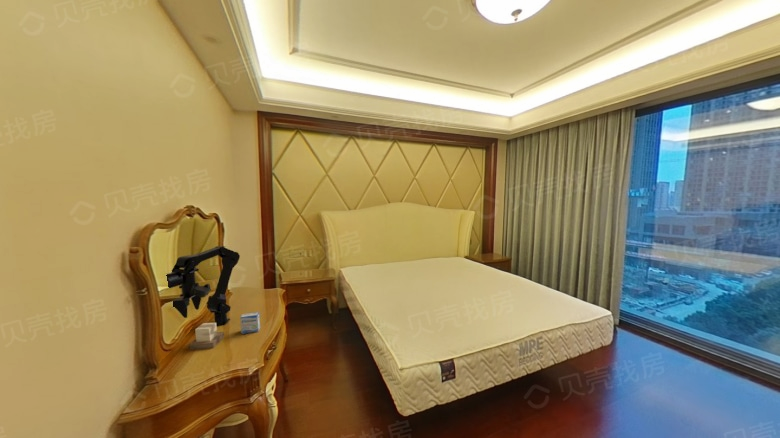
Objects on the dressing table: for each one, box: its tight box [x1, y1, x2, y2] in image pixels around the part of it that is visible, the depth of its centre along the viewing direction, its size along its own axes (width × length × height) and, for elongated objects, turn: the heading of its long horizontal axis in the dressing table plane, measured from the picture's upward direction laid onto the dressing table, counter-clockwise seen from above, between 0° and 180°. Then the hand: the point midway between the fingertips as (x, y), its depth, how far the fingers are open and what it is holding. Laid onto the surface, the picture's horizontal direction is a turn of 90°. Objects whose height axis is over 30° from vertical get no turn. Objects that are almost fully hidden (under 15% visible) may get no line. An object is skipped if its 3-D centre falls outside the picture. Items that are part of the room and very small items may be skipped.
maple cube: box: [194, 322, 218, 342], centre depth 129 cm, size 6×6×6 cm
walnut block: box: [189, 331, 225, 351], centre depth 130 cm, size 10×10×3 cm
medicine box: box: [240, 311, 261, 335], centre depth 140 cm, size 8×4×9 cm, turn 105°
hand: (191, 313), depth 135 cm, fingers open, 9 cm apart
